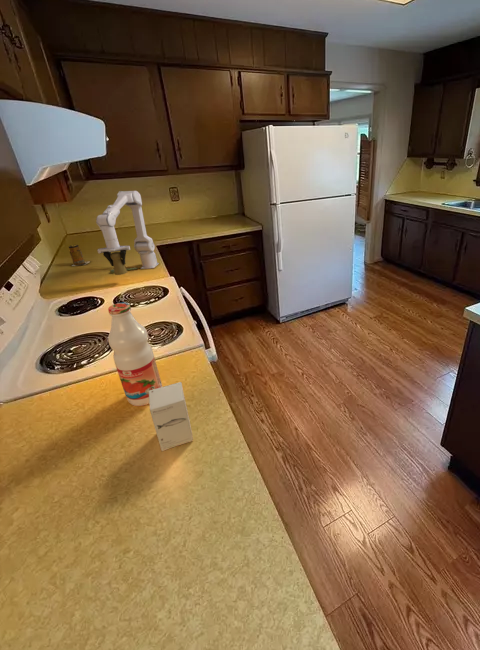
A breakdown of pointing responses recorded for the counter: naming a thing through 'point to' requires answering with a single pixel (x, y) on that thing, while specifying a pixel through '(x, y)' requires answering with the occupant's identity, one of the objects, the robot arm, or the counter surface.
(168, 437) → the white packaging box
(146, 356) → the fruit juice
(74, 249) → the condiment
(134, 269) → the spoon
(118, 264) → the cork
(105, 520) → the counter surface
